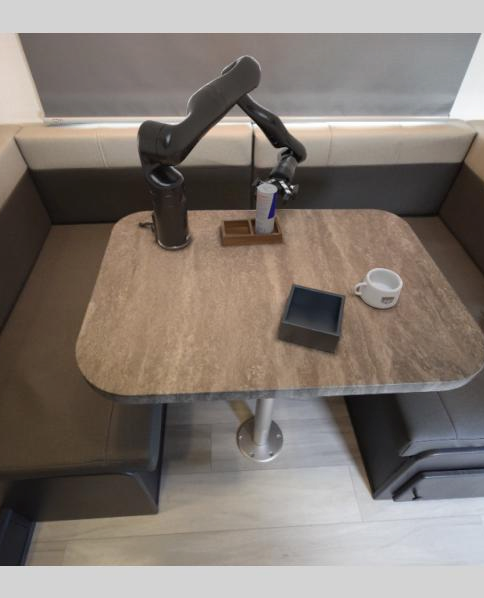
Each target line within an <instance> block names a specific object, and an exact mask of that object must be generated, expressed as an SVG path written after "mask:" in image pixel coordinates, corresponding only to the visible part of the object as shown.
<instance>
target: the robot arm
mask: <svg viewBox="0 0 484 598" xmlns="http://www.w3.org/2000/svg"><path fill="white" fill-rule="evenodd" d="M261 81H262V69H261V65H260V63H259V62H258V60H256V58H254V57H253V56H251V55H242V56H241V57H239V58H237V59H236V60H234V61H233V62H231V63H230V64H229V65H227V66H225V67H224V68H223V70H222V71H221V73H220V76H218V77H216V78H215V79H213V80H211V81H209V82H208V83H206V84H204V85H203V86H202V87H200V88H199V89H198V90H196V91H195V92H194V93H193V94H192V95H191V96H190V98H189V99H188V102H187V105H186V117H185V119H183V120H182V121H180V122H179V123H175V124H173V123H168V122H163V121H158V120H153V119H147V120H144V121H143V122H142V123H141V124H140V125H139V127H138V130H137V133H136V147H137V148H136V149H137V152H138V153H137V154H138V158H139V161H140V166H141V169H142V174H143V178H144V180H145V182H146V183H147V185H148V189H149V190H148V191H149V194H150V201H151V206H152V212H151V215H150V216H151V222H149V221H147V222H141V221H140V222H139V223H138V226H140V227H146V226H150V231H151V233H152V234H154V237H155V242H157V243H158V244H159V246H160V247H161V248H163V249H166V250H169V251H177V250H181V249H184V248H185V247H187V246H188V245H189V244H190V243H191V232H190V228H189V227H190V225H189V216H188V205H187V197H186V188H185V187H186V186H185V185H186V184H185V179H184V176H183V174H182V173H181V172H180V171H179V170H178V169H176V168H175V167H177V166H179V165H180V164H181V163H183V162H184V161H185V160H186V159H187V157H188V156H189V155H190V153H191V152H192V151H193V150H194V148H196V146H197V145H198V144H199V143H200V141H201V140H202V139H203V138H204V137H205V136H206V135H207V134H208V133H209V132H210V130H212V129H213V128H214V127H215V126H217V125H218V124H219V123H220V122H221V121H222V120H223V119H224V118H225V117H226V116H227V115H228V114H229V112H231V110H233V108H234V107H235V106H237V107H239V109H240V110H242V111H243V113H245V114H246V115H247V116H248V118H250V120H251V121H253V123H254V124H255V125H256V126H257V127H258V128H259V129H260V131H261V132H262V133H263V135H264V136H265V138H266V139H267V141H268V142H269V144H270V145H271V147H273V148H274V149H276V150H279V149H281V150H280V151H279V152H278V153H277V155H276V164H275V165H274V166H273V168H272V170H271V171H270V173H269V175H268V177H267V179H265V180H262V178H261V177H256V179H255V180H254V181H253V183H252V184H251V194H253V199H254V201H256V202H257V190H258V186H259V185H261V184H272V185H274V186H276V187H277V195H280V197H282V202H281V203H282V206H283V207H284V206H286V205H288V204H289V201H291V200H292V201H293V202H294V201H296V200H297V198H298V194H299V188H300V184H298V183H296V184H294V185H292V182H293V181H294V178H295V174H296V171H297V169H298V165H300V164H301V163H303V162H306V160H307V156H308V151H307V148H306V146H305V145H304V144H303V143H302V142H301V141H300V140H298V139H297V137H295V136H294V135H293V134H291V132H290V131H289V130H288V129H287V127H286V125H285V124H284V123H283V121H282V120H281V118H280V117H279V116H278V114H276V113H275V112H274V111H272V110H271V109H268V108H267V107H264V106H263V105H261V104H260V103H258V102H257V101H256V100H255V99H254V98H252V96H251V95H250V94H249V93H251V92H253V91H255V90H256V89H257V88H258V87H259V86H260V84H261Z"/></svg>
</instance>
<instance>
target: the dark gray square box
mask: <svg viewBox="0 0 484 598" xmlns="http://www.w3.org/2000/svg"><path fill="white" fill-rule="evenodd" d="M345 304H346V295H344V294H341V293H340V294H339V293H335V292H330V291H326V290H321V289H318V288H313V287H308V286H304V285H300V284H295V283H292V284H291V287H290V291H289V294H288V297H287V300H286V305H285V307H284V311H283V313H282V316H281V320H280V324H279V332H278V338H277V339H278V340H280V341H283V342H284V341H285V342H288V343H292V344H296V345H300V346H303V347H308V348H311V349H316V350H318V351H322V352H327V353H331V354H334V353H335V351H336V348H337V346H338V343H339V340H340V337H341V331H342V325H343V318H344V311H345Z"/></svg>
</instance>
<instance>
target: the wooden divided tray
mask: <svg viewBox="0 0 484 598" xmlns="http://www.w3.org/2000/svg"><path fill="white" fill-rule="evenodd" d="M255 219H256V217H254V218H253V217H252V218H231V219H229V218H228V219H220V229H221V230H220V231H221V238H222V245H223V246H238V245H258V244H259V245H261V244H278V243H282V240H283V233H282V230H281V226H280V223H279V221H278V218H277V217H276V216H275V218H274V228H273V233H267V234H256V233H255Z"/></svg>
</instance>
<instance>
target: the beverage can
mask: <svg viewBox="0 0 484 598" xmlns="http://www.w3.org/2000/svg"><path fill="white" fill-rule="evenodd" d="M277 197H278V194H277V187H276V186H274V185H272V184H261V185H259V186H258V190H257V201H256V203H255V204H256V207H255V218H256V219H255V233H256V234H267V233H273V228H274V218H275V217H276V209H277V208H276V207H277Z"/></svg>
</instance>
